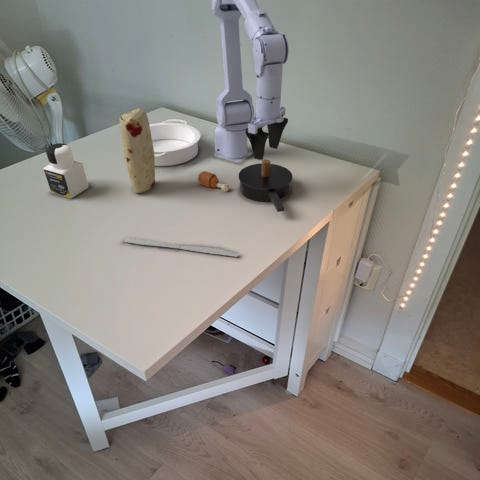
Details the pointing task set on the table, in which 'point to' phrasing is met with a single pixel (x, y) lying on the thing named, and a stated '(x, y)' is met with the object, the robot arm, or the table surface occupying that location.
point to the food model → (138, 149)
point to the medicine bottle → (64, 171)
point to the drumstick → (211, 181)
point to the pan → (262, 193)
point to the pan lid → (265, 176)
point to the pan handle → (276, 201)
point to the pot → (174, 142)
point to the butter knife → (181, 247)
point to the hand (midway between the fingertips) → (266, 153)
